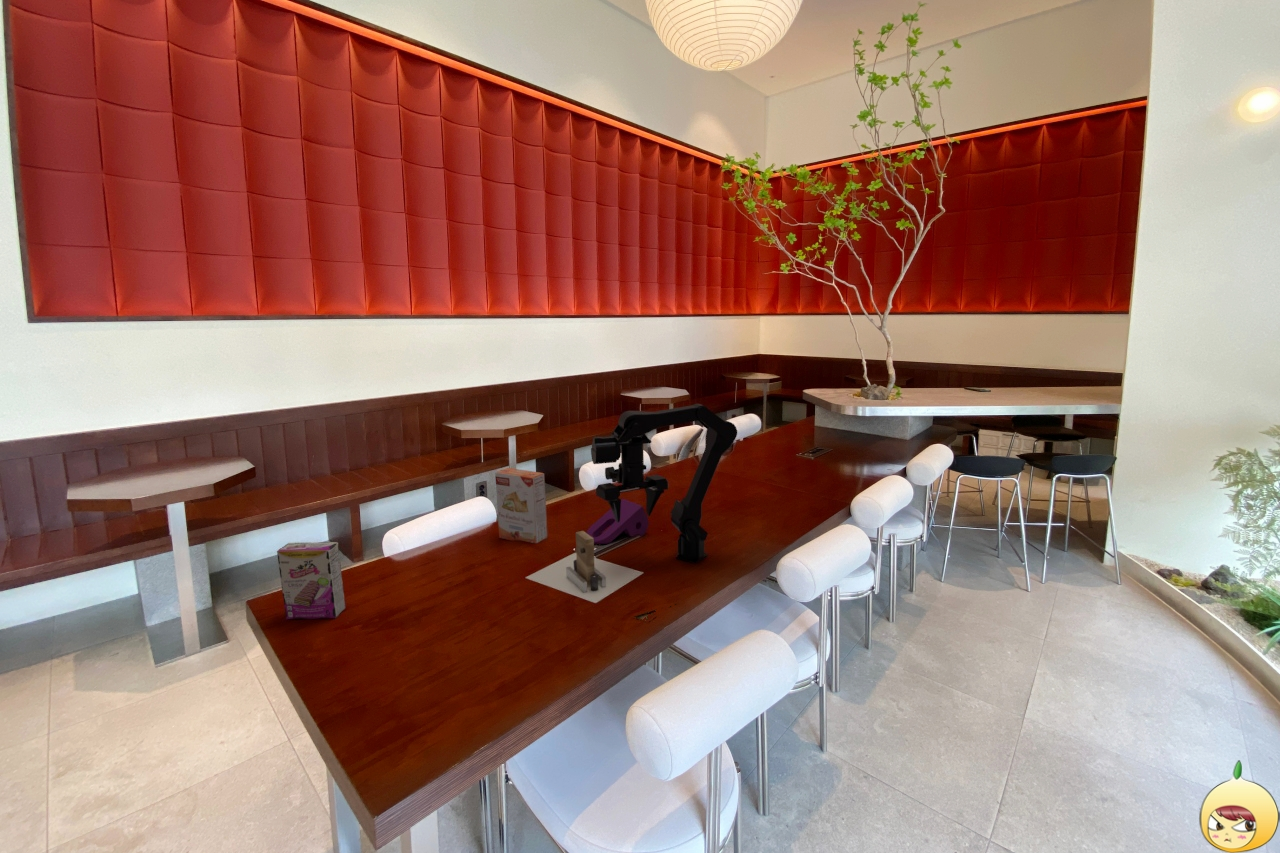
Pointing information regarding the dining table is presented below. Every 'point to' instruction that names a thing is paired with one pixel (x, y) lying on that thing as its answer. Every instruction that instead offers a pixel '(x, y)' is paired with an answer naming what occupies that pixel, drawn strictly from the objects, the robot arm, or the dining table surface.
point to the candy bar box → (311, 580)
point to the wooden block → (585, 556)
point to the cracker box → (521, 505)
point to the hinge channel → (581, 583)
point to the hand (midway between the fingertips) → (633, 518)
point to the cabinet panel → (614, 580)
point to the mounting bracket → (620, 523)
